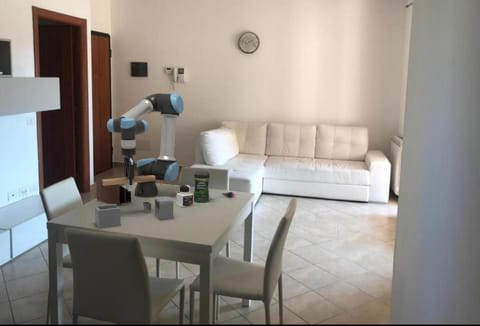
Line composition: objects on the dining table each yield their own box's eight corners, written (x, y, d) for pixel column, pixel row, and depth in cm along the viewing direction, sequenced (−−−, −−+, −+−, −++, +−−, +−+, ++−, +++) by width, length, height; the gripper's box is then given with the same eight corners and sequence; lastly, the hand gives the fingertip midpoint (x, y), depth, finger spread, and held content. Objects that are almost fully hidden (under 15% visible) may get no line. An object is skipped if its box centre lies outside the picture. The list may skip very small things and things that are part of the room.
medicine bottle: (182, 207, 267) (183, 187, 265) (176, 205, 272) (176, 185, 270) (193, 205, 272) (193, 186, 269) (186, 203, 277) (186, 183, 275)
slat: (102, 184, 244) (102, 179, 244) (153, 179, 258) (153, 175, 257) (103, 185, 241) (103, 181, 240) (155, 180, 254) (155, 176, 254)
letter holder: (118, 206, 266) (118, 183, 264) (96, 200, 277) (95, 178, 275) (131, 203, 274) (131, 180, 272) (109, 197, 285) (109, 175, 283)
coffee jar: (192, 202, 279) (193, 172, 275) (194, 199, 286) (194, 170, 283) (208, 203, 278) (209, 173, 275) (209, 199, 286) (210, 170, 283)
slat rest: (107, 215, 249) (107, 206, 248) (148, 210, 260) (148, 201, 259) (109, 217, 245) (109, 208, 244) (151, 212, 256) (151, 204, 255)
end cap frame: (95, 223, 235) (94, 203, 234) (167, 214, 254) (167, 196, 252) (98, 228, 228) (98, 208, 226) (173, 218, 246) (173, 200, 244)
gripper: (117, 145, 251) (118, 186, 256) (125, 150, 236) (126, 194, 241) (131, 144, 255) (131, 185, 259) (140, 149, 240) (140, 192, 244)
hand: (129, 189), depth 250 cm, fingers closed on slat, 4 cm apart
